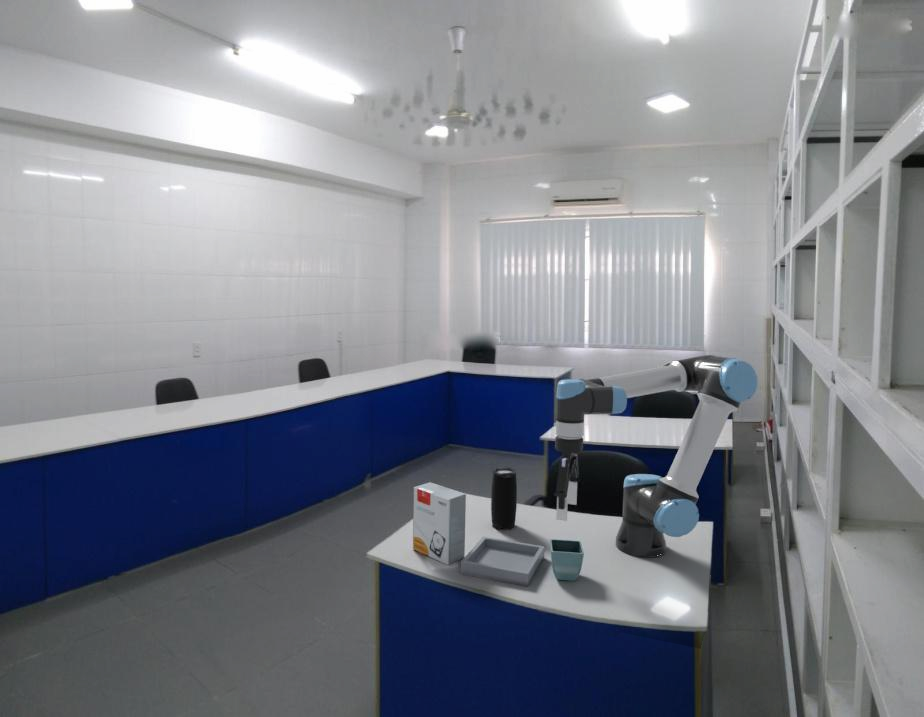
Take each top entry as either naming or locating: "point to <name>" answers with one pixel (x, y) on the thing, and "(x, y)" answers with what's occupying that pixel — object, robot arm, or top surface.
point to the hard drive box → (439, 522)
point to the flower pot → (566, 558)
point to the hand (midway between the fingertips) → (566, 511)
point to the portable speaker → (503, 498)
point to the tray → (503, 560)
